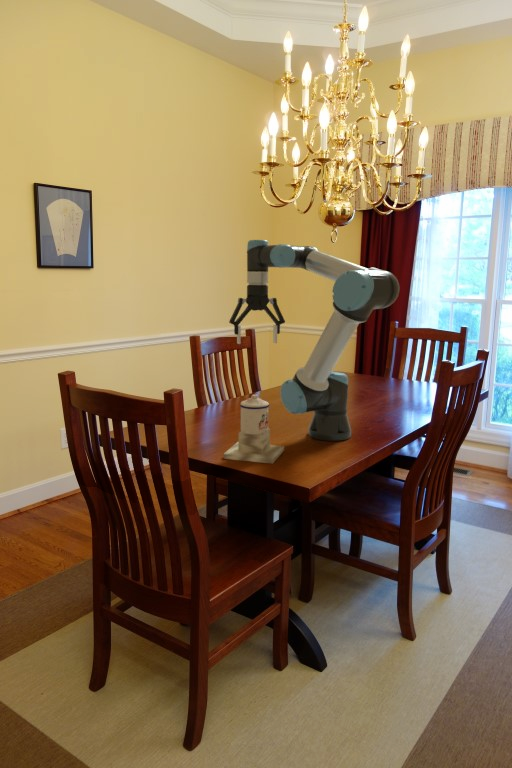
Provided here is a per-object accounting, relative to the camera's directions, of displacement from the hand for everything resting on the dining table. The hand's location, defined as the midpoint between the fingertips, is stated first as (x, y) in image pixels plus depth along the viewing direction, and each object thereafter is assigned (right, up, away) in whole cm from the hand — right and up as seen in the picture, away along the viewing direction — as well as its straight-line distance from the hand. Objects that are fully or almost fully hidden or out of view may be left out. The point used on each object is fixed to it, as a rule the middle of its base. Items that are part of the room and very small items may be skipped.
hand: (257, 343), depth 213 cm
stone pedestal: (-1, -37, -27) cm, 46 cm away
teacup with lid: (0, -30, -28) cm, 41 cm away
